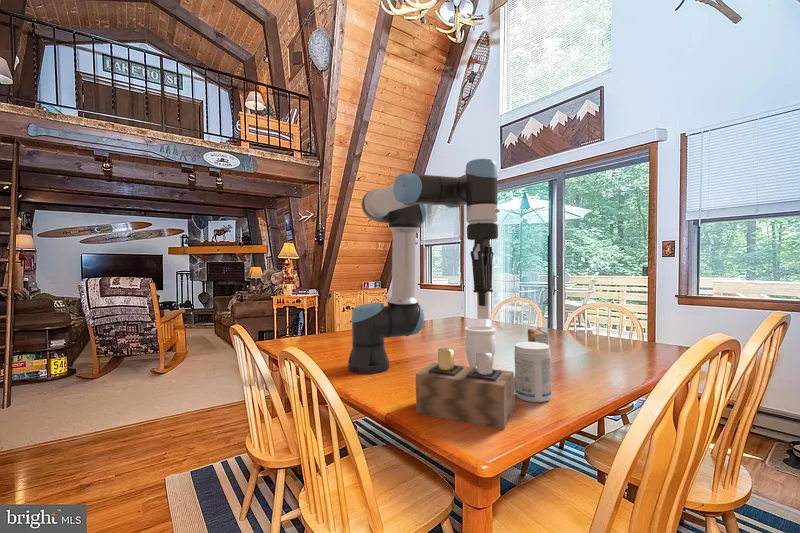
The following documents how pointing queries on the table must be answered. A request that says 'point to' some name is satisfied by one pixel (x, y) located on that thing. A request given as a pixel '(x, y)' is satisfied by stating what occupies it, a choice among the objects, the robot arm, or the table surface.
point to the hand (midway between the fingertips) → (483, 318)
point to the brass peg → (446, 359)
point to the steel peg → (484, 363)
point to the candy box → (537, 336)
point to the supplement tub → (533, 371)
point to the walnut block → (466, 395)
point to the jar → (479, 342)
